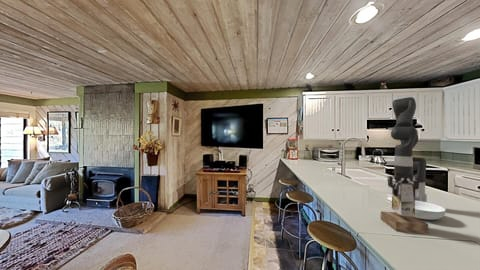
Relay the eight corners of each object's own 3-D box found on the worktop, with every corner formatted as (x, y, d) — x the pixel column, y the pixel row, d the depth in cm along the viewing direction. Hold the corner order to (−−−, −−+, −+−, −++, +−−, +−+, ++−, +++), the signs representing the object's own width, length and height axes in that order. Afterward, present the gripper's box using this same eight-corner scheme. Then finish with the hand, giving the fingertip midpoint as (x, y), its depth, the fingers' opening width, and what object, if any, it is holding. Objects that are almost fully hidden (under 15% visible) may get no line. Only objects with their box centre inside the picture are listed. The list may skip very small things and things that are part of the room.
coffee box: (415, 217, 99) (416, 184, 99) (400, 215, 101) (401, 183, 101) (404, 210, 108) (404, 180, 108) (391, 209, 110) (391, 179, 110)
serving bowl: (431, 212, 124) (432, 201, 124) (455, 227, 104) (455, 214, 104) (392, 208, 131) (392, 197, 131) (406, 221, 111) (407, 208, 111)
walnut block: (408, 222, 110) (408, 213, 110) (428, 234, 96) (428, 224, 96) (380, 220, 112) (380, 211, 112) (396, 232, 98) (396, 221, 98)
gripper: (414, 164, 107) (414, 195, 107) (384, 163, 110) (383, 193, 110) (424, 166, 99) (423, 199, 99) (391, 165, 102) (391, 197, 102)
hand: (402, 196), depth 104 cm, fingers closed on coffee box, 6 cm apart
